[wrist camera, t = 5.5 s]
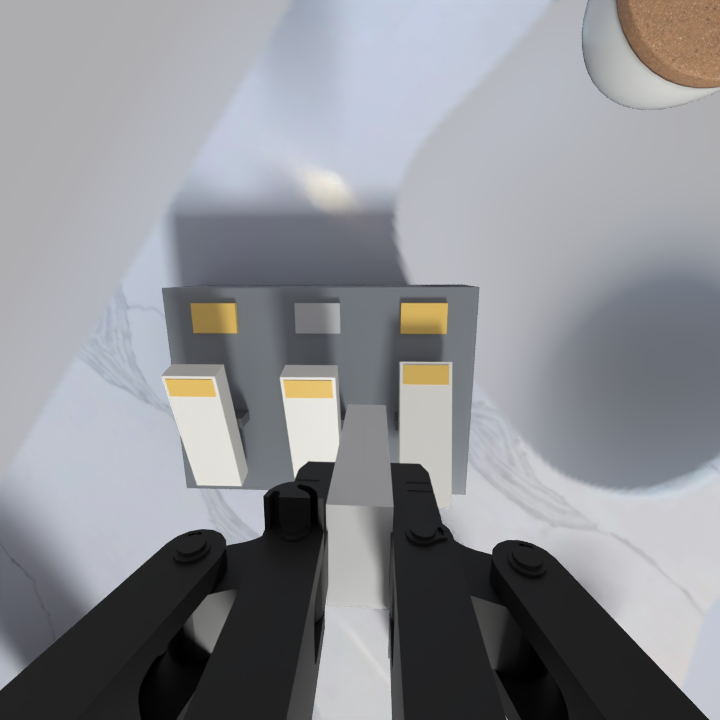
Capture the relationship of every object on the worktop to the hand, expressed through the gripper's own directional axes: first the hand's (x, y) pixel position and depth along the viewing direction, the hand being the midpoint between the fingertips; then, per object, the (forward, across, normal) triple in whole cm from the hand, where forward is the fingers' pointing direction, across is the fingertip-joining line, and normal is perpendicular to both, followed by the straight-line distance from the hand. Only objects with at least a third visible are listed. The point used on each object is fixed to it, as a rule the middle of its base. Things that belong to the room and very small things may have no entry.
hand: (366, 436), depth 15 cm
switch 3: (+8, +4, -3) cm, 10 cm away
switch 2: (+9, -3, -4) cm, 10 cm away
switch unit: (+16, -3, -2) cm, 16 cm away
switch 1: (+9, -10, -4) cm, 14 cm away
